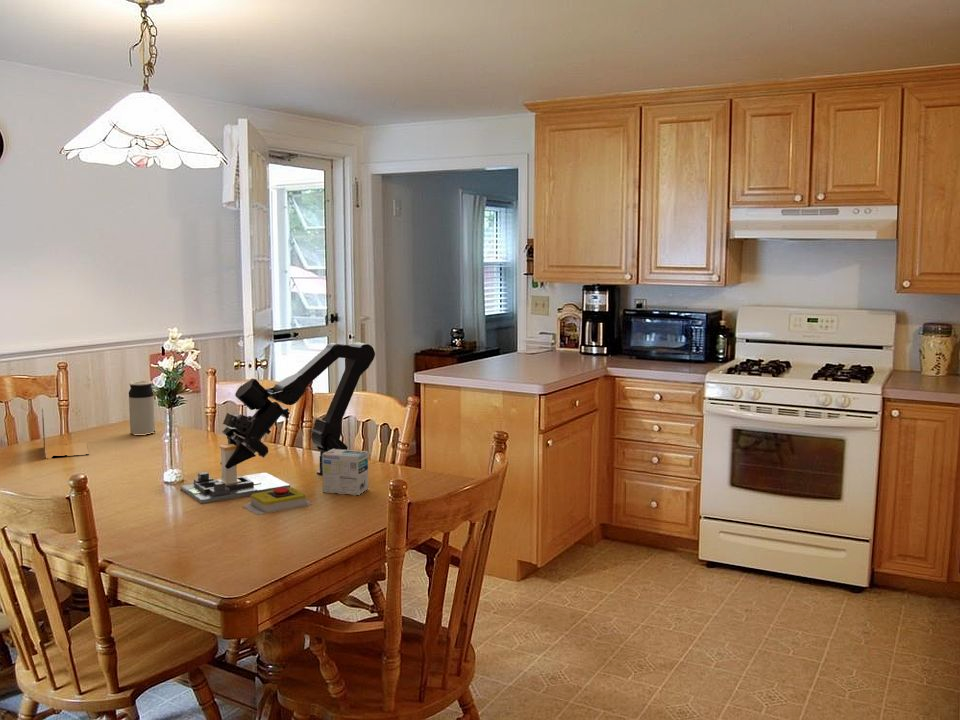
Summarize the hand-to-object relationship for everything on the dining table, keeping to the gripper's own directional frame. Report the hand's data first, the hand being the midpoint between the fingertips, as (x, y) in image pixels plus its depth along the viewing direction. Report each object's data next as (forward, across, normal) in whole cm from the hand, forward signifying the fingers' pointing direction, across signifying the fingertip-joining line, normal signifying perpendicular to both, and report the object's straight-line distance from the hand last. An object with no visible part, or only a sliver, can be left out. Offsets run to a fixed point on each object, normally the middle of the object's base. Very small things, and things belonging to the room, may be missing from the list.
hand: (224, 466), depth 224 cm
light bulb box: (-13, +19, +23) cm, 33 cm away
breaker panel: (+3, 0, +7) cm, 7 cm away
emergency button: (+1, +20, +10) cm, 22 cm away
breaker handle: (+3, 0, +5) cm, 5 cm away
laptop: (+22, -72, -12) cm, 76 cm away
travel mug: (+3, -85, +7) cm, 85 cm away
